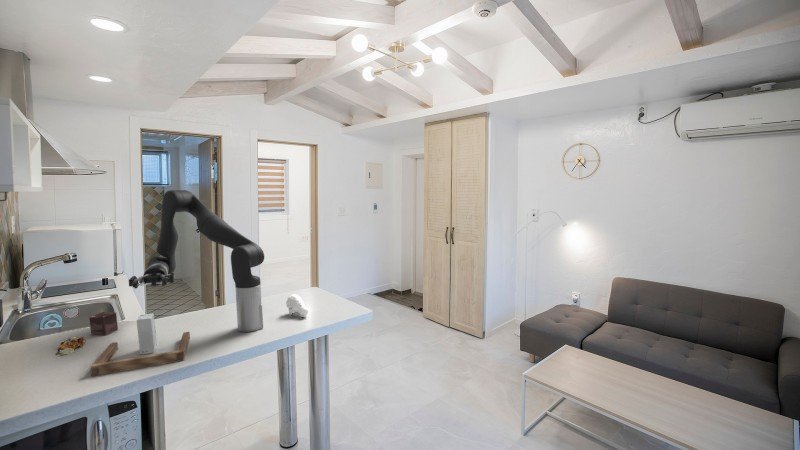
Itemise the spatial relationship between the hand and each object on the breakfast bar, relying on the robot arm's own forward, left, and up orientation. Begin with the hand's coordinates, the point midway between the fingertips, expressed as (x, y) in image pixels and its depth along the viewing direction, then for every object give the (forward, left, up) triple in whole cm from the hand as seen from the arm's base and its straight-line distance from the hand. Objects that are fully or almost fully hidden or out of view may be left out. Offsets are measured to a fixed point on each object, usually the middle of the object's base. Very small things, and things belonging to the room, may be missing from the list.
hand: (149, 284), depth 137 cm
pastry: (+25, -4, -21) cm, 33 cm away
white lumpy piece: (-53, -3, -21) cm, 57 cm away
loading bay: (0, +15, -21) cm, 25 cm away
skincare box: (0, +11, -21) cm, 23 cm away
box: (+19, -16, -21) cm, 33 cm away
